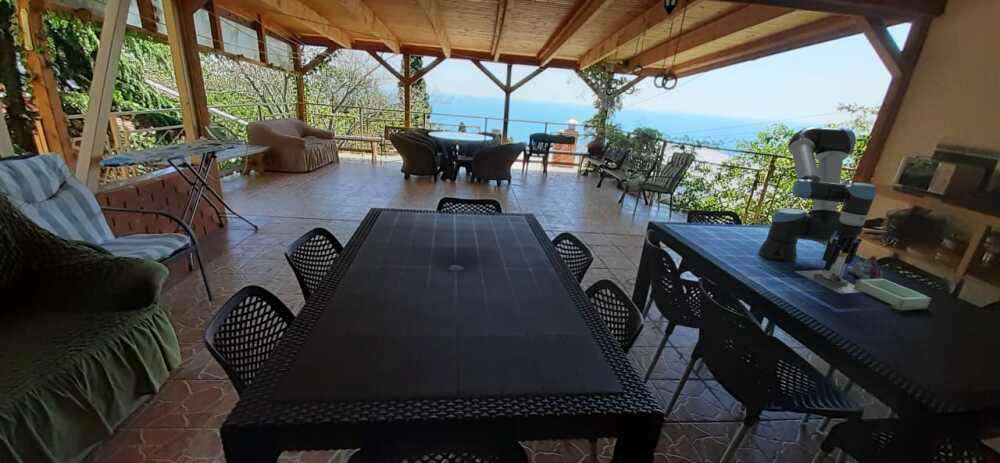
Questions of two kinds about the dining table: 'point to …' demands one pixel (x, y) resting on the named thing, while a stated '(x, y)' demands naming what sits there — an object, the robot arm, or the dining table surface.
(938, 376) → the dining table surface
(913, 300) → the bin
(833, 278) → the jar with gold lid
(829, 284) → the stud plate
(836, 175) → the robot arm
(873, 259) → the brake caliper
